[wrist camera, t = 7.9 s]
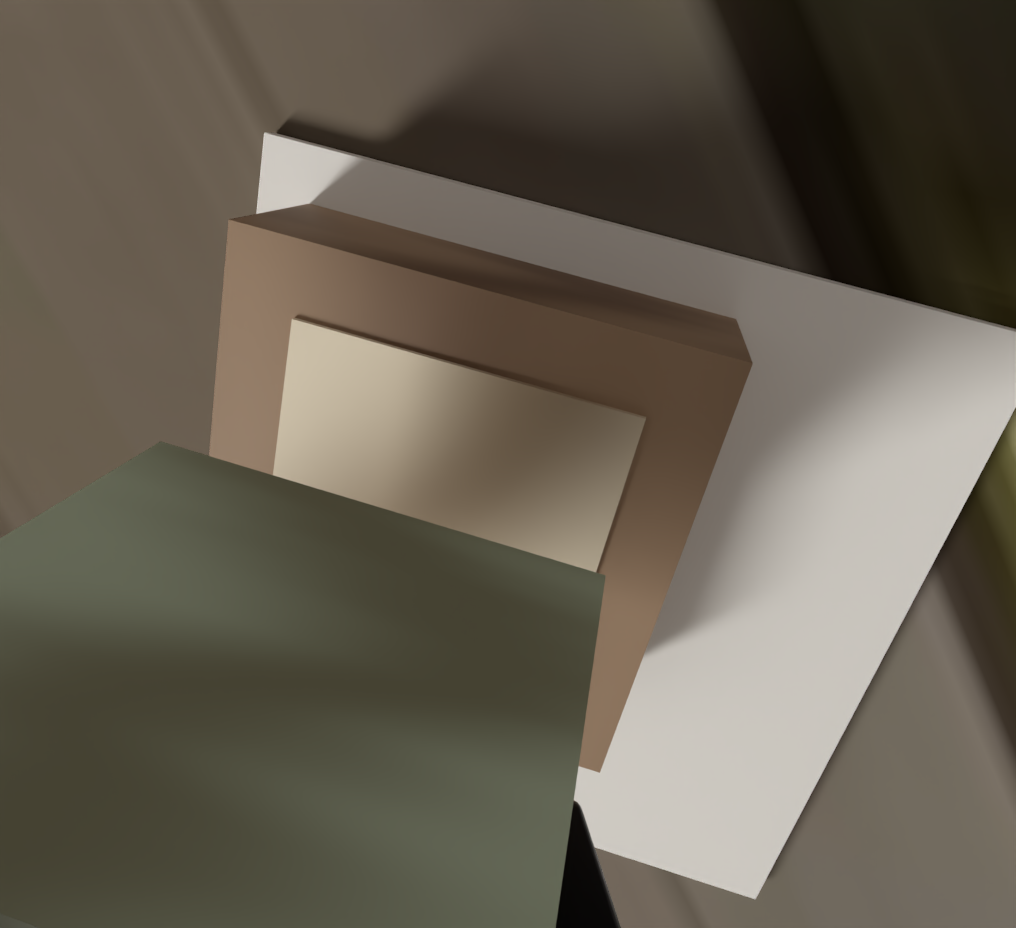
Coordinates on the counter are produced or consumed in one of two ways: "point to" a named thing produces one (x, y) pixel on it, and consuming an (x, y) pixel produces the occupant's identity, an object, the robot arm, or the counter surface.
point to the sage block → (281, 710)
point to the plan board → (623, 460)
